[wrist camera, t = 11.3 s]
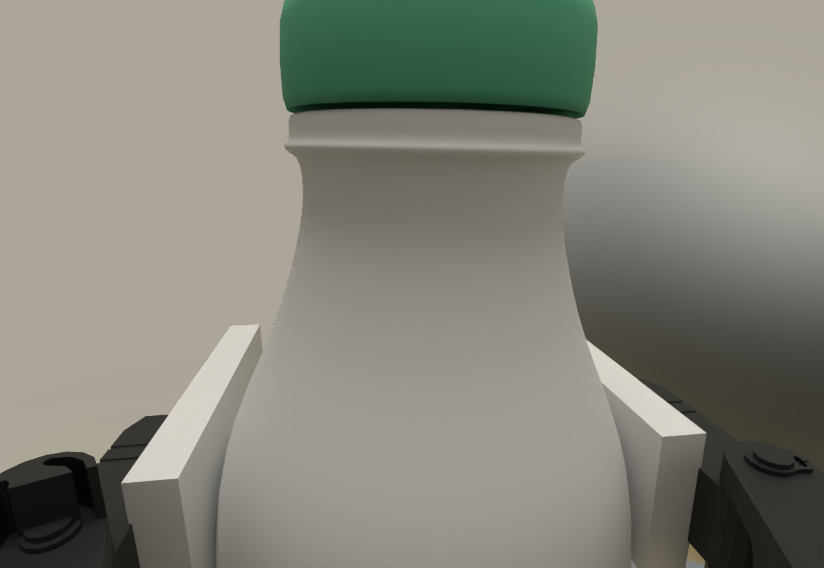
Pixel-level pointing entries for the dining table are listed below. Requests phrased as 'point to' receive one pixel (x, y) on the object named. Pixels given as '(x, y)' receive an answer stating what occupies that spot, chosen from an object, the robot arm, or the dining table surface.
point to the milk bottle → (429, 304)
